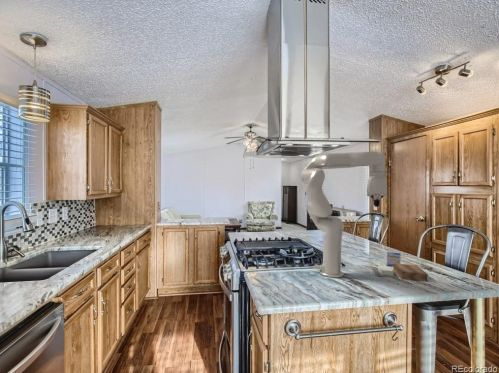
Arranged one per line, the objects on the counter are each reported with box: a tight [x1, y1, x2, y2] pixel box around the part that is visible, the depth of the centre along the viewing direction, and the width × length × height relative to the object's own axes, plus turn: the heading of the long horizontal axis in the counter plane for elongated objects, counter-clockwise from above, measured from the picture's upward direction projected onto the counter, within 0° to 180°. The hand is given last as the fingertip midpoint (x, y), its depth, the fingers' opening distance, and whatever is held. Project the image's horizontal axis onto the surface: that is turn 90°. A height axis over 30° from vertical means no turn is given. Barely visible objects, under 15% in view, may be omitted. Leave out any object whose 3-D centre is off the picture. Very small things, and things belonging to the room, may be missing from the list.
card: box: [377, 265, 395, 276], centre depth 154 cm, size 6×9×2 cm, turn 166°
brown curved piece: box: [392, 263, 429, 282], centre depth 151 cm, size 12×16×4 cm
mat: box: [371, 267, 400, 279], centre depth 154 cm, size 11×14×1 cm
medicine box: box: [384, 250, 402, 268], centre depth 170 cm, size 8×4×9 cm, turn 76°
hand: (376, 206), depth 159 cm, fingers closed
